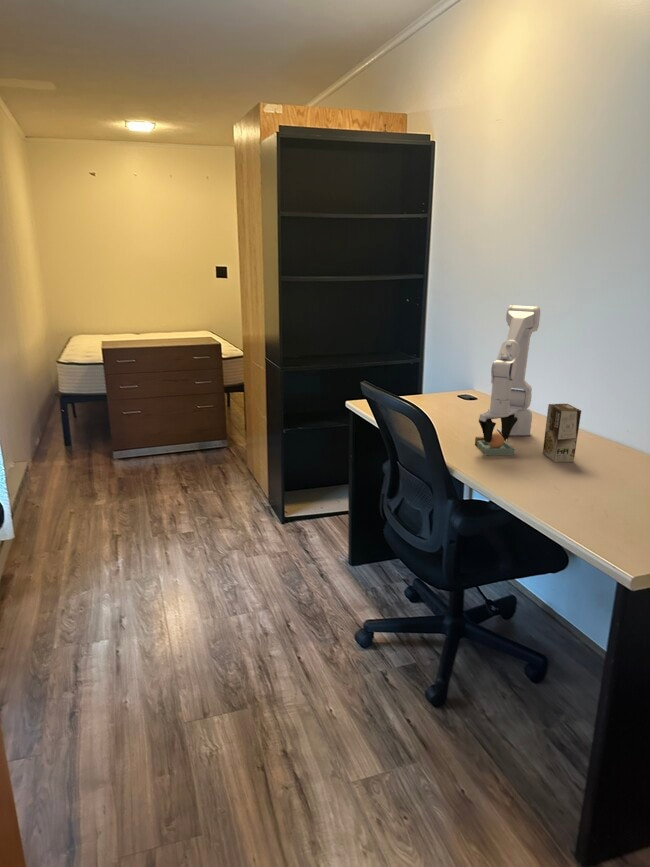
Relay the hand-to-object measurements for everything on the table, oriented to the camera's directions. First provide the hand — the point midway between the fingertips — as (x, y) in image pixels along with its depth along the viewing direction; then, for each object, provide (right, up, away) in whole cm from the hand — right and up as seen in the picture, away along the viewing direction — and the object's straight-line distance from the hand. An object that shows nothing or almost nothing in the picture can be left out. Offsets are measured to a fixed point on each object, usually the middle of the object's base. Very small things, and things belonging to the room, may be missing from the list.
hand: (496, 440), depth 188 cm
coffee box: (+18, -5, -4) cm, 19 cm away
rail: (0, -1, +7) cm, 7 cm away
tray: (0, -3, +1) cm, 3 cm away
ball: (0, -3, +1) cm, 3 cm away
